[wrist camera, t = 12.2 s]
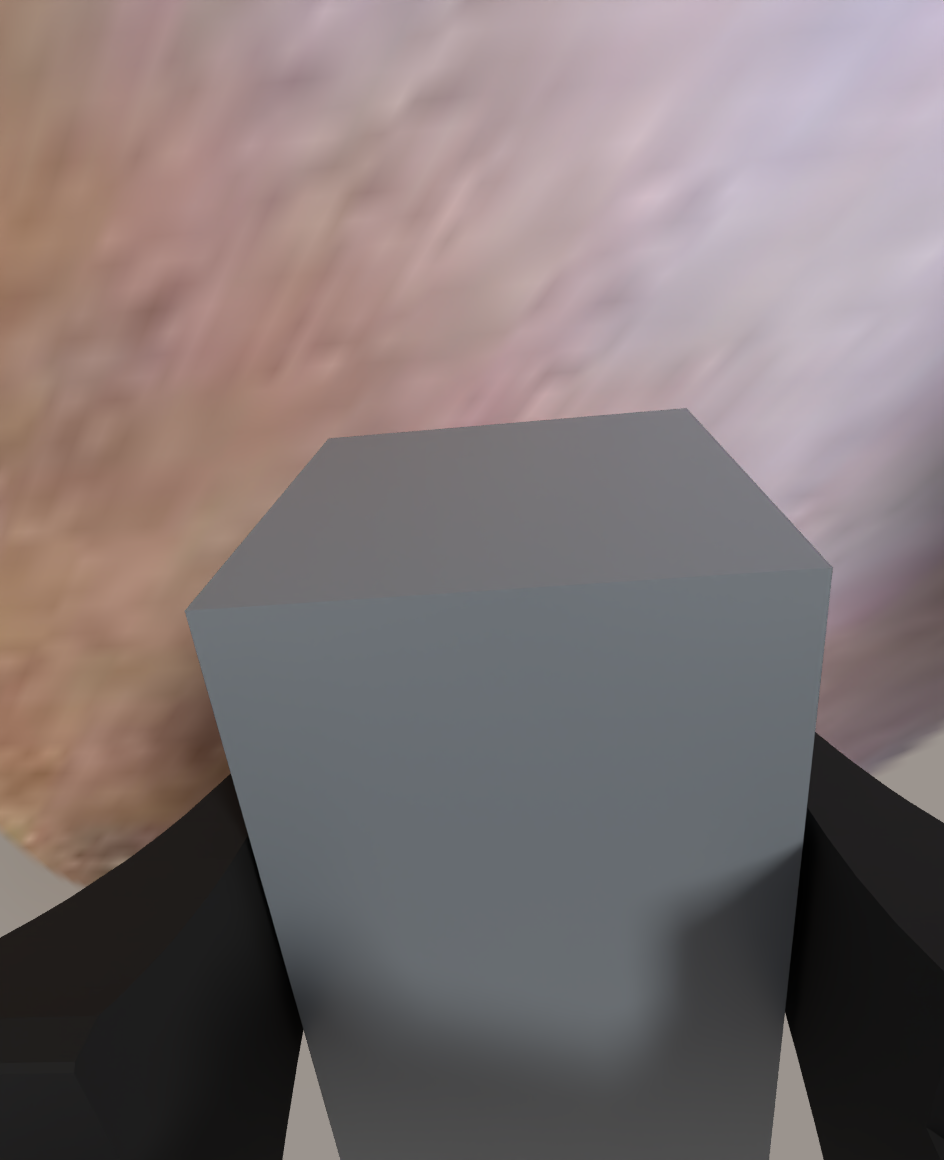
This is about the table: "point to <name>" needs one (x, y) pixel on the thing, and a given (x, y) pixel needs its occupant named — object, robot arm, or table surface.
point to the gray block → (528, 782)
